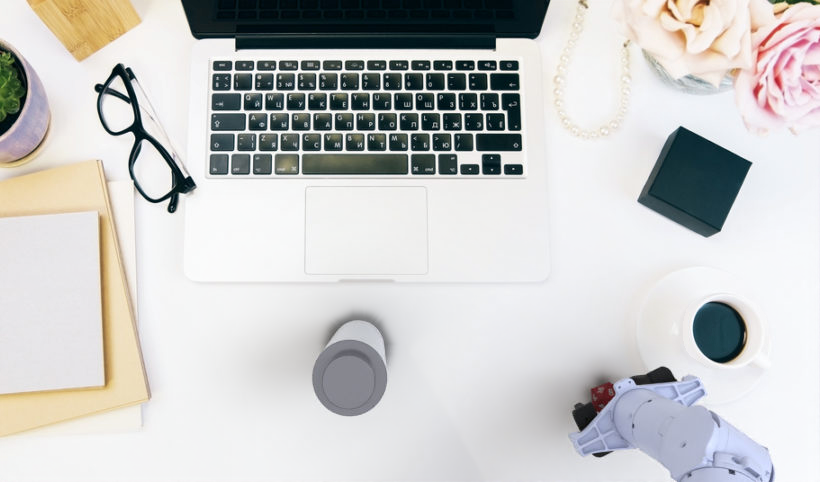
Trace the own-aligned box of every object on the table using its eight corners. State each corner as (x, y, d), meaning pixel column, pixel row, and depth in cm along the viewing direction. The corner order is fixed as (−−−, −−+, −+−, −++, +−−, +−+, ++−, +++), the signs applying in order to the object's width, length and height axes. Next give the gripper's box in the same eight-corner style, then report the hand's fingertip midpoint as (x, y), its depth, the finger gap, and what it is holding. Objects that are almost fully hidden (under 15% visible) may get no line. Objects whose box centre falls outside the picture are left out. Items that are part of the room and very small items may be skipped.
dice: (577, 392, 71) (589, 398, 67) (609, 372, 71) (622, 378, 67) (594, 419, 71) (607, 428, 67) (626, 400, 71) (641, 407, 67)
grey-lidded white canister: (393, 359, 72) (401, 401, 48) (345, 382, 72) (329, 436, 48) (370, 311, 72) (366, 329, 48) (323, 334, 72) (296, 363, 48)
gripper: (708, 356, 57) (644, 340, 70) (574, 423, 56) (536, 394, 70) (744, 424, 56) (673, 395, 70) (609, 492, 56) (563, 449, 69)
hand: (606, 398), depth 70 cm, fingers open, 6 cm apart
